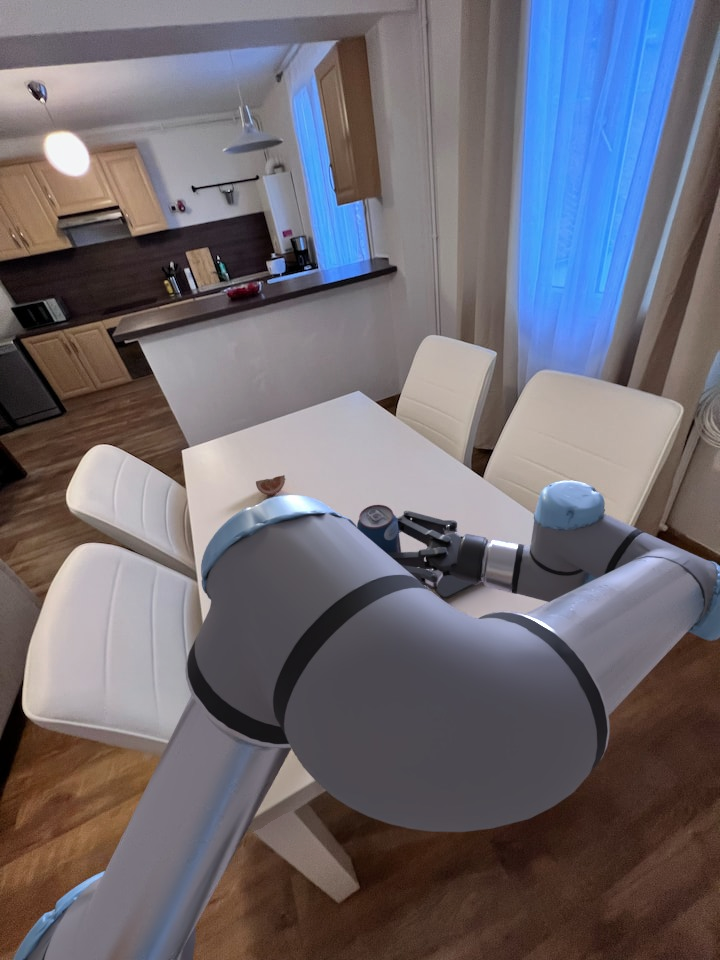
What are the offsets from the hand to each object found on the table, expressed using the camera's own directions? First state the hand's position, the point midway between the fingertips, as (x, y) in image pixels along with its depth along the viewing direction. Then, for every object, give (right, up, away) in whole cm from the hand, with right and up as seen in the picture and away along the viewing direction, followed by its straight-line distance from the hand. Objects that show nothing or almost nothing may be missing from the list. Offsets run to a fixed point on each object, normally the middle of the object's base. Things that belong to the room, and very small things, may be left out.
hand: (354, 533), depth 72 cm
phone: (+23, -10, +12) cm, 28 cm away
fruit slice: (-24, +6, +45) cm, 52 cm away
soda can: (+5, -6, +2) cm, 8 cm away
